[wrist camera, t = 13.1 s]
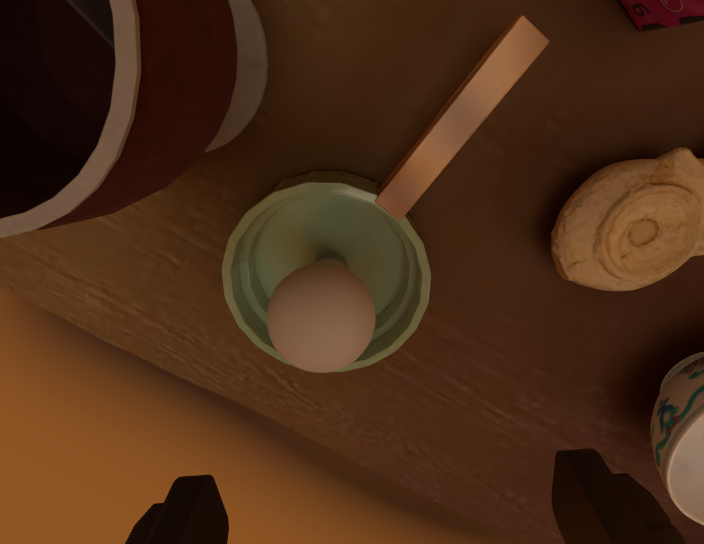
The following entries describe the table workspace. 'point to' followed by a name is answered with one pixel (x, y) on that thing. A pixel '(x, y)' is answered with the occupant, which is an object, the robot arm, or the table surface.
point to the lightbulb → (321, 315)
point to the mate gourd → (117, 99)
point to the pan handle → (462, 115)
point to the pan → (320, 237)
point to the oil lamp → (632, 222)
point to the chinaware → (681, 435)
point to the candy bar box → (663, 12)
